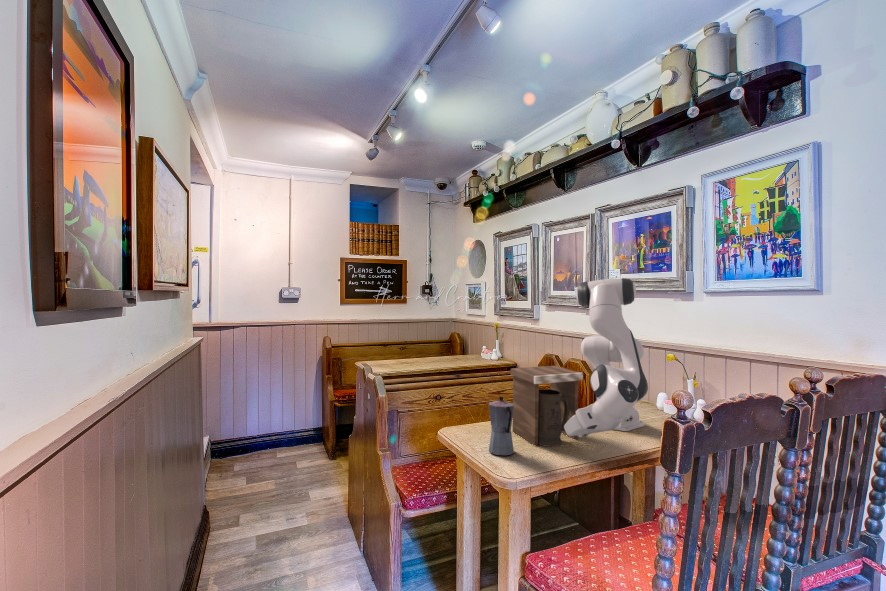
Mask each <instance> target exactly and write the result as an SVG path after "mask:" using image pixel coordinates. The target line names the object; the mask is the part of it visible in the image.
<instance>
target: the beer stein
mask: <svg viewBox="0 0 886 591" xmlns="http://www.w3.org/2000/svg"><path fill="white" fill-rule="evenodd" d="M561 401H563V402H564V415H563V420H562V423H561V405H560V403H561ZM569 412H570V406H569V402H568V395H567V394H563V396H561V395H560V392H558V391H556V390H550V388H549V389H548V388H545V389H544V388H540V389H539V400H538V445H540V444H541V445H540V446H544V445H545V447H555V446H556V445H557V446H559V444H560V445H561V443H562V438H561V436H562V433H561V431H565V429H564V425H565V424H566V422H567V419H568V417H569ZM565 432H566V431H565ZM557 446H556V447H557Z"/></svg>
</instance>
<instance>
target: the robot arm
mask: <svg viewBox="0 0 886 591" xmlns="http://www.w3.org/2000/svg"><path fill="white" fill-rule="evenodd" d="M636 296H637V287H636V286H635V283H634V282H633V279H632V280H631V279H630V278H626V277H625V278H624V277H622V278H603V279H597V280H590V281H583V282H580V283H579V284H578V285H577V288H576V291H575V297H576V301H577V303H578V304H579V306H581V307H583V308H587V309H588V312H589V313H588V314H589V323H590V326H591V328H592V330H593V331H595V332H596V333H597V334H598V335H590V336H585V337H584V339H583V340H582V341H581V344H580V351H581V354H582V355H583V357H584V358H586V360H588V362H590V363H591V365H592V366H593V370H592V372H591V374H590V377H589V384H590V387H591V390H592V391H593V393H594V395H595V401H594V403H591V404H589V405H588V406H584V407H582V408H578V410H577V411H576V412H575V413H576V415H574V416H572V417H571V418H570V419H569V420H568V422H567V423H566V424H565V425H564V429H565V431H566V433H567V435H568V436H576V435H577V437H578V438H587V437H588V436H590V435H592V434H596V433H602V432H603V433H604V432H611V431H615V430H616V431H621V432H629V431H633V430H636V429H640V428H643V427H645V426H646V423H645V422H644V421H643V420H640V413H639V411H638V410H637V408H635V407H634V406H635V405H636V403H637V402H639V401H640V400H642V399H643V398H644V397H645V396H646V395H647V393H648V392H649V391H648V390H649V384H648V380H647V378H646V375H645V373H644V371H643V368H642V365H641V364H642V363H641V359H642V358H643V356H644V346H643V343H641V341H640V340H638V339H637V338H635V336H634V334H633V332H632V330H631V329H630V328H629V327H628V325H627V323H626V321H625V319H624V316H623V309H622V305H623V306H628V305H631V304H632V303H634V301H635V298H636ZM610 362H611V363H620V364H622V367H623V368H620V367H616V366H612V365H611V363H610Z"/></svg>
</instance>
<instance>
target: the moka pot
mask: <svg viewBox="0 0 886 591" xmlns="http://www.w3.org/2000/svg"><path fill="white" fill-rule="evenodd" d="M498 399H499V400H494V401H489V403H488V409H489V419H490V420H489V421H490V426H491V427H490V428H491V431H490V432H491V433H490V439H489V440H490V441H489V447H488V451H489V452H490V453H491V454H493V455H497V456H511V455H512V454H514V451H515V450H514V444H513V435H512V434H513V433H512V427H513V408H514V405H513V402H508V401H504V396H498Z"/></svg>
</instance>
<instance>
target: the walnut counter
mask: <svg viewBox="0 0 886 591" xmlns="http://www.w3.org/2000/svg"><path fill="white" fill-rule="evenodd" d="M510 376H512V403H513V405H514V408H513V417H512V433H513V432H514V433H515V434H514V433H513V434H514V435H516V434H517V435H516V436H518V435H519V436H520V437H519V436H518V437H519V438H521V437H522V438H523V440H524V439H525V440H524V441H526V442H527V441H528V442H527V443H529V442H530V443H529V444H531V445H532V444H533V445H532V446H534V445H537V446H539V444H538V400H539V385H540V384H541V385H542V384H549V385H550V388H549V389H550V390H556V391H558V392H560V395H561V396H563V394H567V395H568V402H569V406H570V412H569V417H568V419H567V422H568V420H569V419H570V418H571V417H572V416H574V415H576V413H575V412H576V411H577V410H578V409H579V382H580V381H583V380H584V372H579V371H575V370H571V369H570V368H569V369H568V368H565V367H561V366H557V365H543V366H530V367H515V368H510ZM560 405H561V423H562V420H563V415H564V402H563V401H561V403H560ZM567 422H566V423H567ZM562 433H563V434H565V435H567V433H566V432H565V431H561V434H562ZM563 434H562V435H563ZM565 435H564V436H565ZM567 436H568V435H567ZM567 436H566V437H567ZM569 437H570V438H569ZM522 438H521V439H522ZM568 438H569V439H571V438H572V439H571V440H573V439H577V440H578V435H576V436H568Z"/></svg>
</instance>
